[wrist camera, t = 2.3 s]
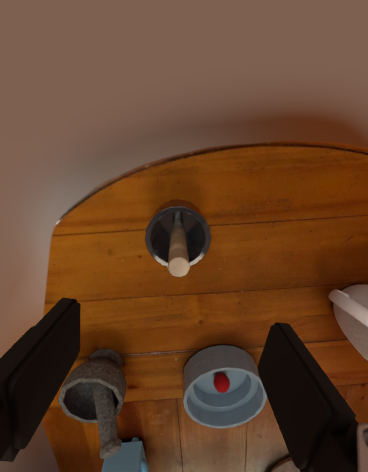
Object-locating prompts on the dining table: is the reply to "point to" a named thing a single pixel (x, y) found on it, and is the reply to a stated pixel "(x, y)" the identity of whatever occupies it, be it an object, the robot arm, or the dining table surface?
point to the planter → (285, 466)
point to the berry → (221, 382)
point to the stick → (178, 251)
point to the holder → (162, 225)
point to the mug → (353, 315)
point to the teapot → (127, 458)
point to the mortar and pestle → (97, 396)
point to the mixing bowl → (231, 402)
